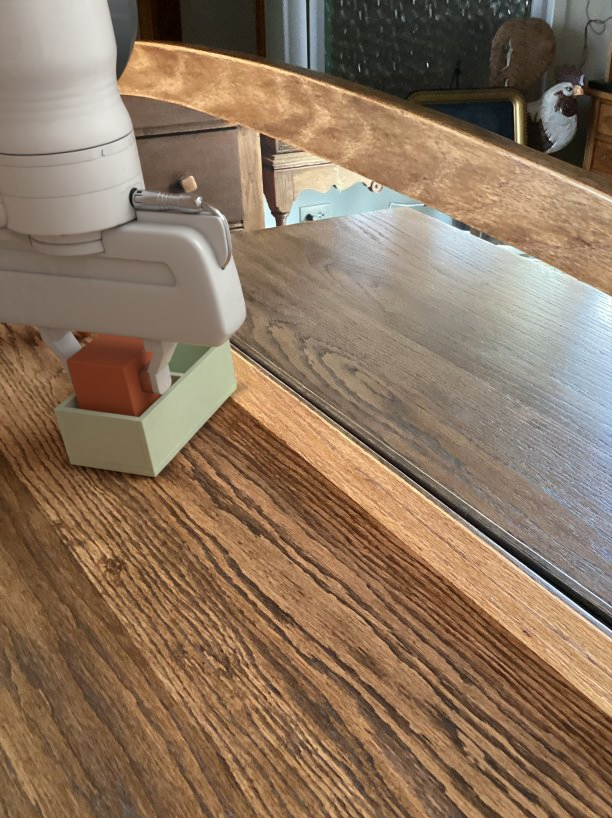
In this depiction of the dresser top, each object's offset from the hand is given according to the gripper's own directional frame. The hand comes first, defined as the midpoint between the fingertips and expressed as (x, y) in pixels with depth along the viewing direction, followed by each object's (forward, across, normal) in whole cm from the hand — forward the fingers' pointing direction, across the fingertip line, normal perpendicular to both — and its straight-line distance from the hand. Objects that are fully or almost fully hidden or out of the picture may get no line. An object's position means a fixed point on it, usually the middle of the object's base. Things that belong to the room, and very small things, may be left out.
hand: (120, 385), depth 63 cm
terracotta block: (+2, 0, 0) cm, 2 cm away
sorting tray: (+5, 0, -3) cm, 6 cm away
